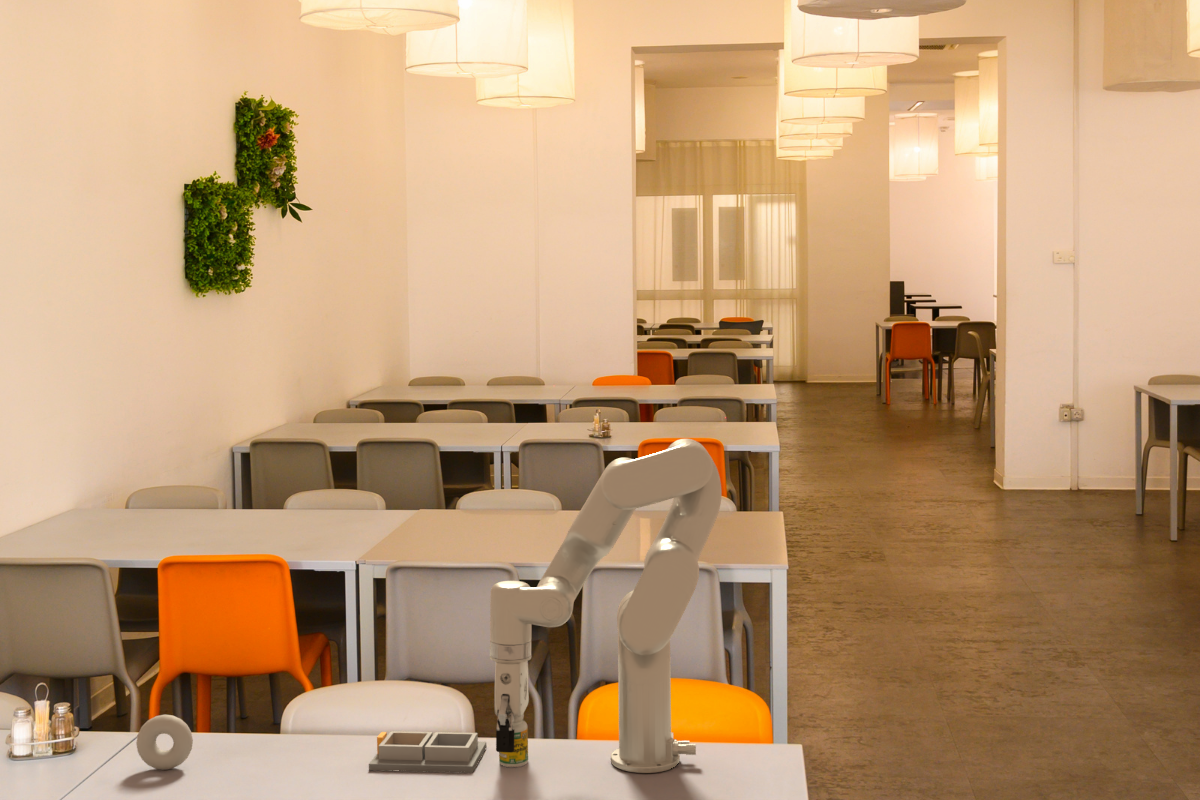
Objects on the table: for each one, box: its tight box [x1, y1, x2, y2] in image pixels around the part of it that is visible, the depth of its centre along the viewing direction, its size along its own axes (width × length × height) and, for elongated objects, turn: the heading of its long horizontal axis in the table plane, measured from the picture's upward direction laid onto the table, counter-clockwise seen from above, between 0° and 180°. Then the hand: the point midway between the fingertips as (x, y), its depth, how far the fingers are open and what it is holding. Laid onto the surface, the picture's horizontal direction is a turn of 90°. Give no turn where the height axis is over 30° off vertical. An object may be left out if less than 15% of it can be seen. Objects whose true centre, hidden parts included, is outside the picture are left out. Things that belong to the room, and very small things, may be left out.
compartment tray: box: [368, 730, 487, 774], centre depth 218 cm, size 19×13×4 cm
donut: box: [135, 714, 194, 771], centre depth 214 cm, size 10×3×10 cm, turn 92°
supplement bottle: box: [498, 712, 529, 768], centre depth 215 cm, size 5×5×10 cm
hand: (509, 742), depth 215 cm, fingers open, 9 cm apart
